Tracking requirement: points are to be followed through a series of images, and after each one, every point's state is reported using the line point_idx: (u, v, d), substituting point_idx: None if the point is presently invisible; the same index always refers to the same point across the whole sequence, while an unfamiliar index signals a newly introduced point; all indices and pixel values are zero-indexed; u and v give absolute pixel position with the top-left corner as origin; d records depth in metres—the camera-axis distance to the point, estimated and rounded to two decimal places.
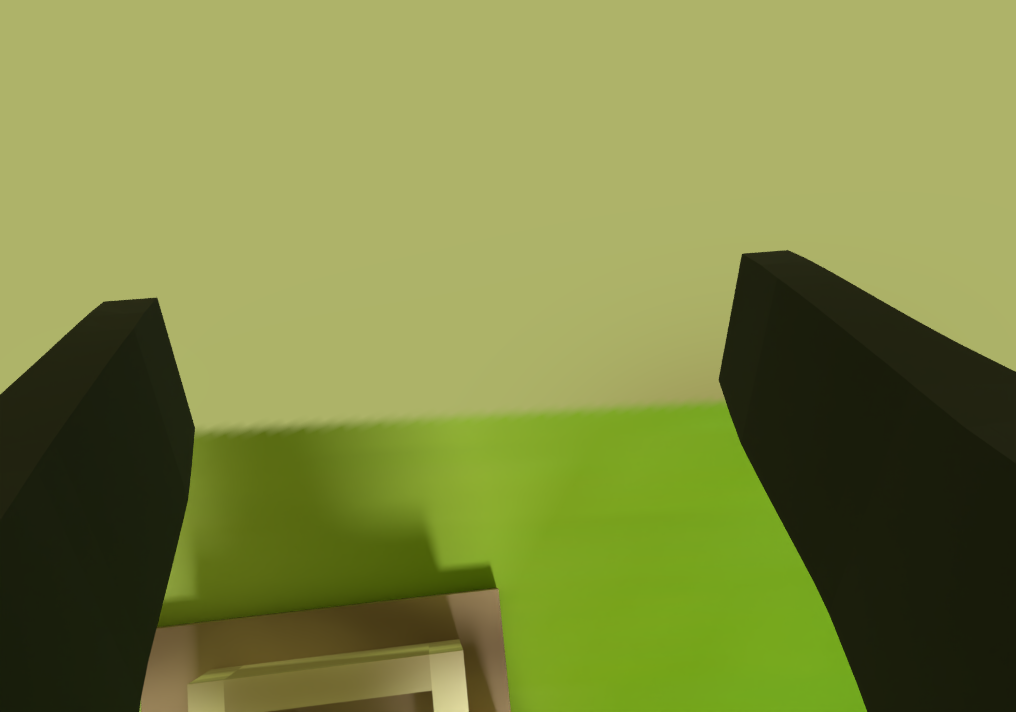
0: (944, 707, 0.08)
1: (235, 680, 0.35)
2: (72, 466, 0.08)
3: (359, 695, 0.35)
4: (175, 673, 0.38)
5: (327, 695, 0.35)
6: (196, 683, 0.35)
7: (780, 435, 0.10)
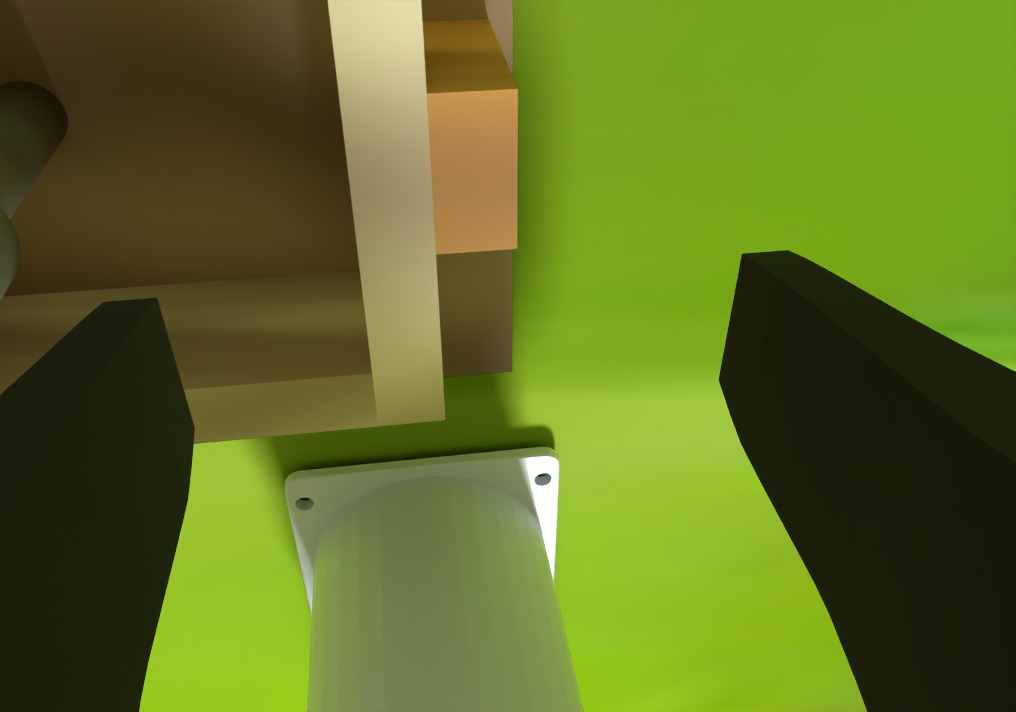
0: (944, 707, 0.08)
1: None
2: (72, 466, 0.08)
3: None
4: None
5: None
6: None
7: (780, 435, 0.10)
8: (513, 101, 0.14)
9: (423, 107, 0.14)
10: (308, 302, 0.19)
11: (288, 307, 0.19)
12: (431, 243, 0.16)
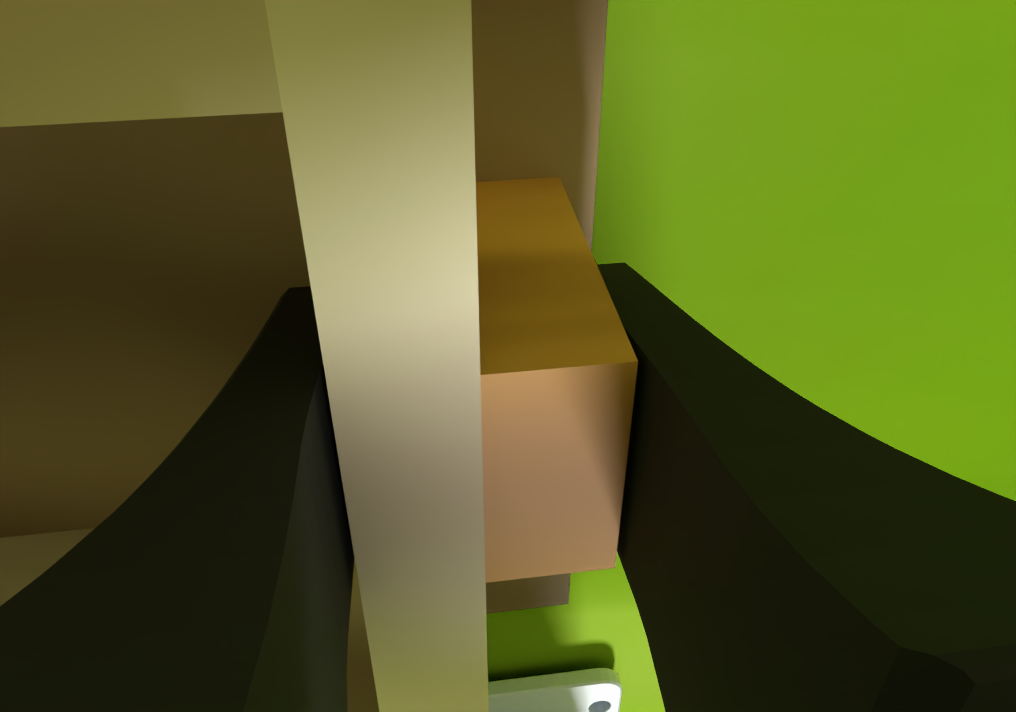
0: None
1: None
2: (314, 443, 0.08)
3: None
4: None
5: None
6: None
7: None
8: (628, 378, 0.08)
9: (474, 394, 0.08)
10: None
11: None
12: (479, 570, 0.10)
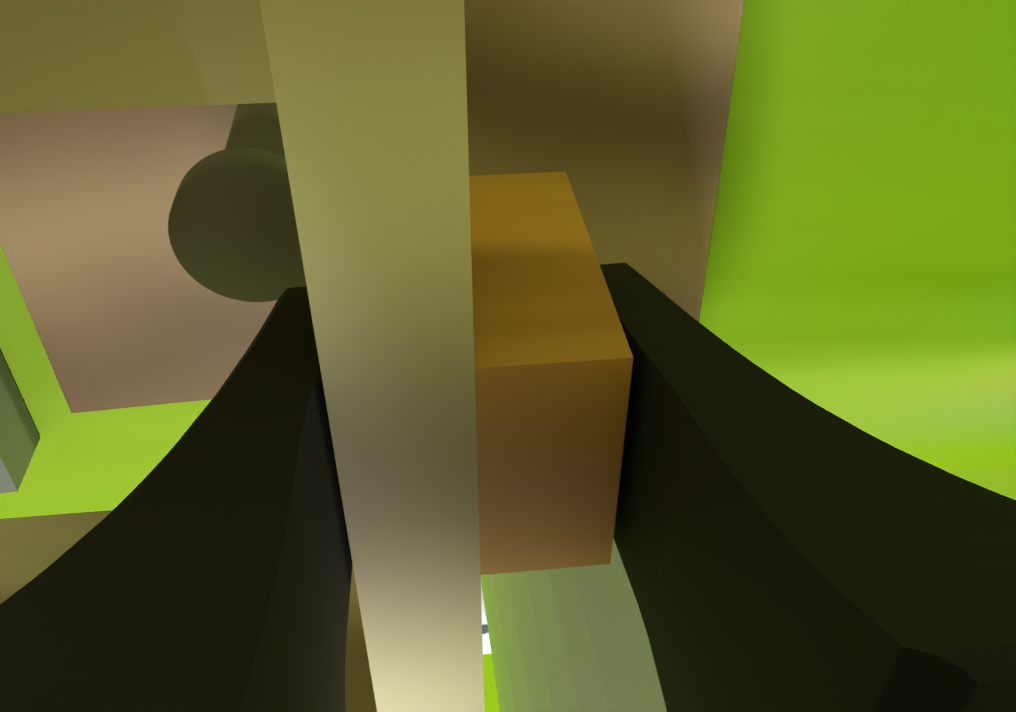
0: None
1: None
2: (312, 443, 0.08)
3: None
4: None
5: None
6: None
7: None
8: (623, 374, 0.08)
9: (468, 387, 0.08)
10: None
11: None
12: (474, 562, 0.10)
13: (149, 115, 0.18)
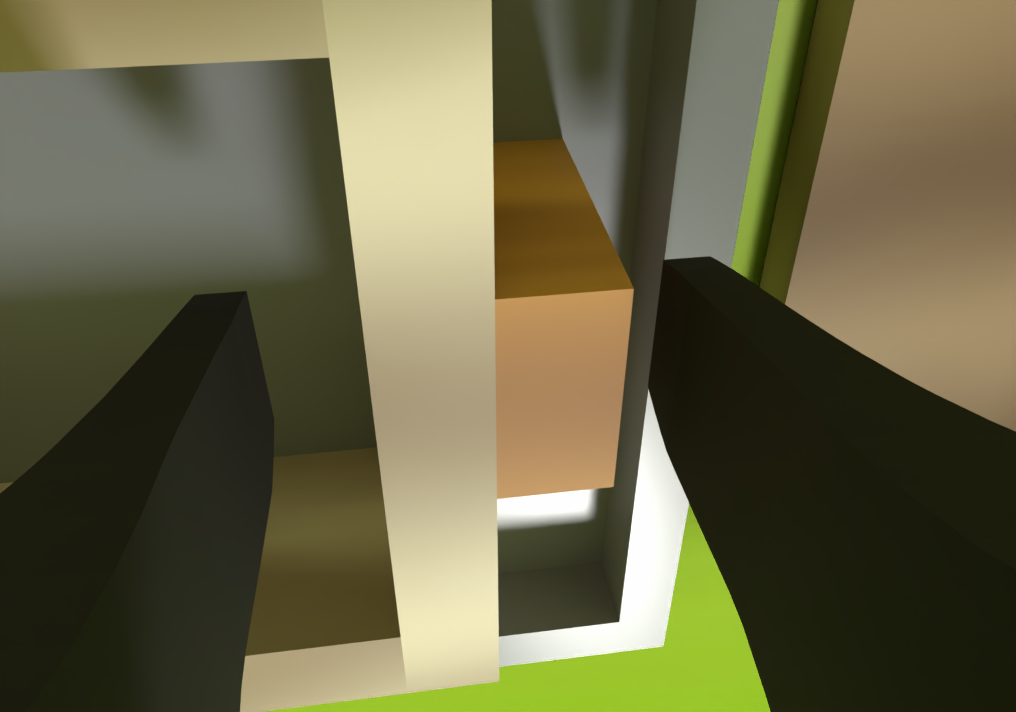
0: None
1: None
2: (191, 455, 0.08)
3: None
4: None
5: None
6: None
7: (698, 443, 0.10)
8: (625, 304, 0.09)
9: (489, 317, 0.09)
10: (310, 504, 0.14)
11: (284, 513, 0.14)
12: (491, 486, 0.11)
13: None
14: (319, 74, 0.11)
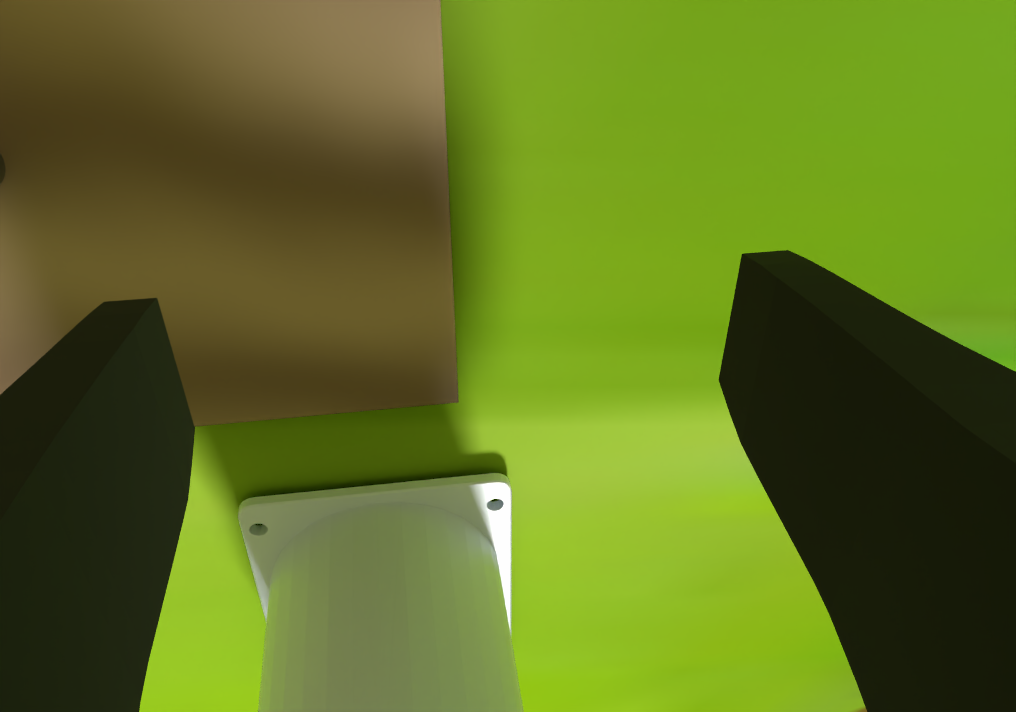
0: (944, 707, 0.08)
1: None
2: (72, 466, 0.08)
3: None
4: None
5: None
6: None
7: (780, 435, 0.10)
8: None
9: None
10: None
11: None
12: None
13: None
14: None
